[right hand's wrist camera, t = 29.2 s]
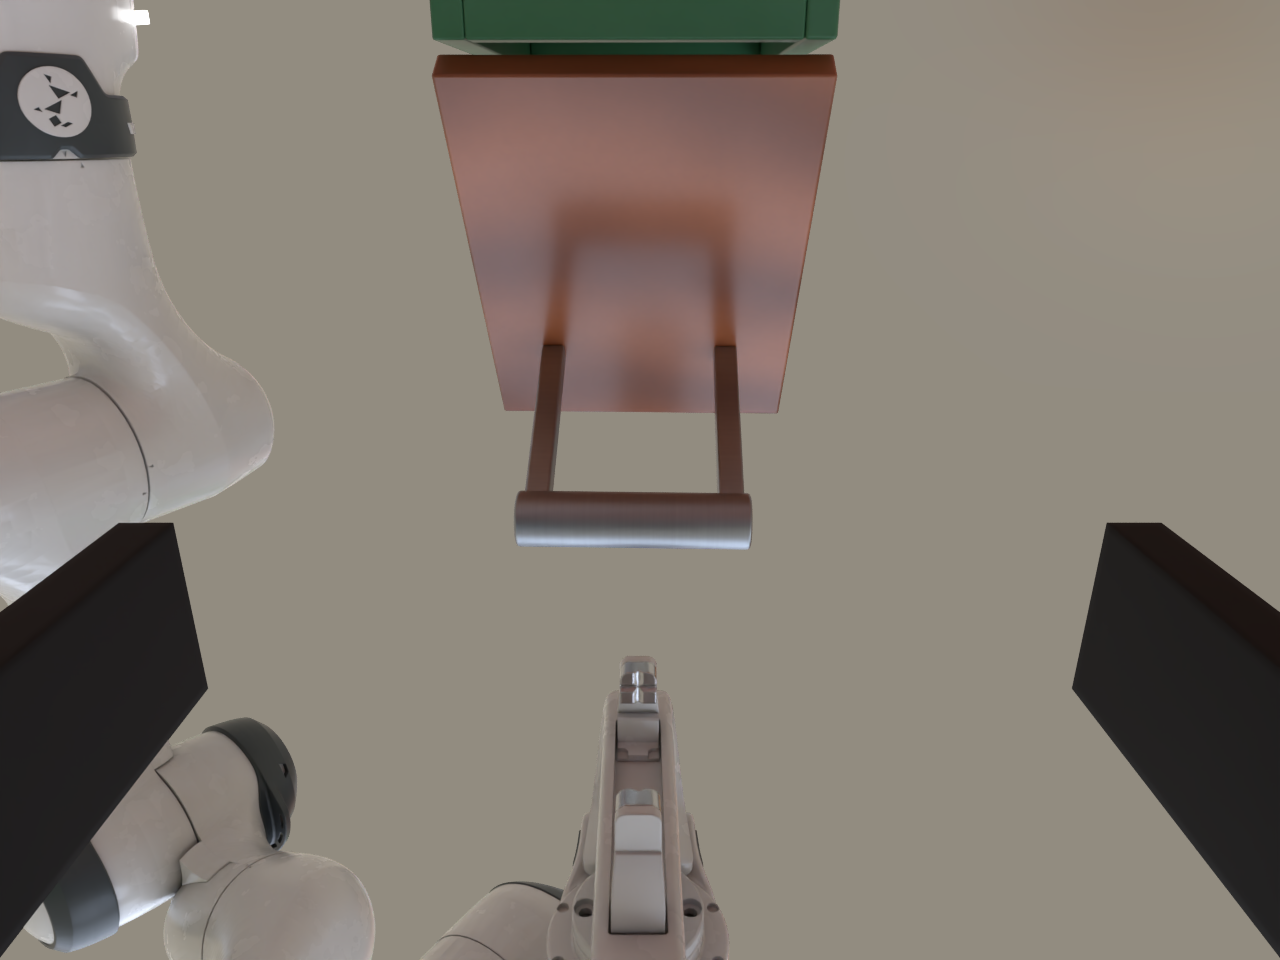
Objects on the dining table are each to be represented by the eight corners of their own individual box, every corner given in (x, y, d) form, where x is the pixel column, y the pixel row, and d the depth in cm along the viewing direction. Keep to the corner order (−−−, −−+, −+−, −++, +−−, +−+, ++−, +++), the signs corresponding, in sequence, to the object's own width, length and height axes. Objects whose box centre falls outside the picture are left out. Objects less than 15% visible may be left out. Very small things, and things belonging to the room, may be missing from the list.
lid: (776, 393, 31) (793, 598, 27) (507, 391, 31) (478, 593, 27) (834, 53, 21) (877, 288, 16) (437, 53, 21) (370, 285, 17)
